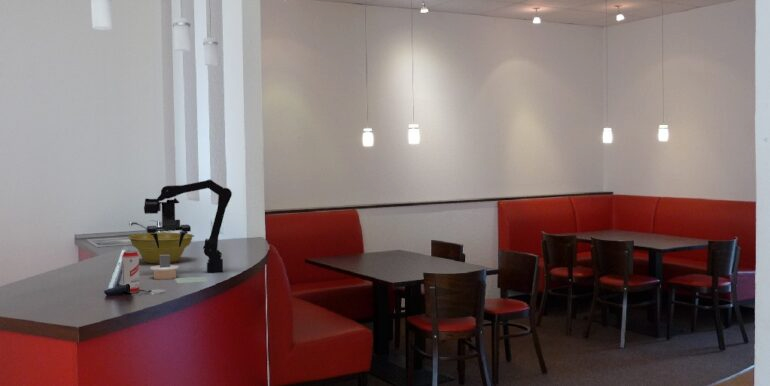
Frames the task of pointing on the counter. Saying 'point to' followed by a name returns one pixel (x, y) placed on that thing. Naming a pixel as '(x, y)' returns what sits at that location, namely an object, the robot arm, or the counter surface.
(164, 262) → the lid
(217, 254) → the robot arm
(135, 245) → the planter bowl
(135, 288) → the beer can
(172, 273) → the bowl
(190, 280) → the mat
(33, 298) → the counter surface
